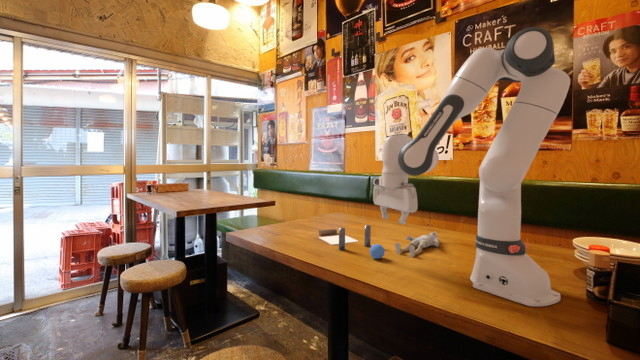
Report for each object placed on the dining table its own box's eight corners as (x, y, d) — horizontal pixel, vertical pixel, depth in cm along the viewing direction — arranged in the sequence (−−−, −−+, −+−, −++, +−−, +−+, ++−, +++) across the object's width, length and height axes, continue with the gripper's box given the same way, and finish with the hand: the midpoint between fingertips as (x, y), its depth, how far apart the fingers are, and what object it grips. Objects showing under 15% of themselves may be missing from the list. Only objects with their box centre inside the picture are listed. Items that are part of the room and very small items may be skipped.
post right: (371, 246, 132) (371, 225, 132) (366, 247, 131) (366, 226, 131) (368, 245, 135) (368, 224, 134) (363, 245, 134) (363, 225, 133)
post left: (346, 250, 127) (346, 228, 126) (340, 250, 126) (340, 229, 125) (343, 248, 129) (343, 227, 129) (337, 249, 128) (337, 227, 128)
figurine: (389, 241, 124) (421, 226, 145) (389, 256, 124) (421, 238, 146) (420, 247, 115) (449, 230, 137) (420, 263, 115) (449, 243, 137)
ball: (387, 259, 114) (387, 245, 114) (375, 261, 112) (375, 246, 112) (378, 255, 119) (378, 241, 119) (366, 257, 117) (367, 243, 117)
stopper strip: (336, 234, 155) (336, 229, 155) (320, 235, 151) (320, 231, 151) (334, 233, 157) (335, 228, 156) (318, 235, 153) (318, 230, 153)
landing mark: (359, 241, 140) (359, 241, 140) (331, 245, 135) (331, 244, 135) (344, 234, 153) (344, 234, 153) (318, 237, 147) (318, 237, 147)
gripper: (423, 183, 98) (421, 226, 98) (384, 179, 116) (383, 215, 117) (407, 184, 95) (405, 228, 96) (370, 179, 114) (369, 216, 115)
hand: (393, 221), depth 107 cm, fingers open, 8 cm apart
